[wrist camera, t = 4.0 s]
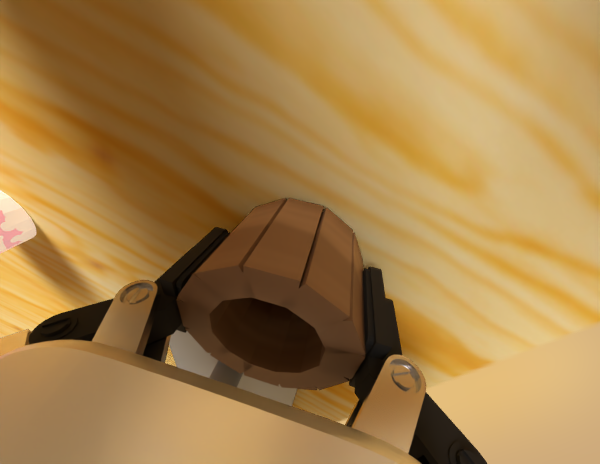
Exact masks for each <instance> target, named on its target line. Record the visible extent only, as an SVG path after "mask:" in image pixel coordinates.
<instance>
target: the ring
mask: <svg viewBox="0 0 600 464" xmlns="http://www.w3.org/2000/svg"><path fill="white" fill-rule="evenodd" d="M322 211H323V206H321V205H317V204H313V203H308V202H304V201H300V200H296V199H291V198H289V199H288V200H286V198H284V199H281V200H277V201H274V202H270V203H267V204H264V205H260V206H257V207H255V209H253V210H252V211H251V212H250V213H249V214H248V215H247V216H246V217H245V218H244V220H243V221H242V222H241V223H240V224H239V225H238V226H237V227H236V228H235V229H234V230H233V231H232V232H231V234H230V235H229V236H228V237H227V238H226V239H225V240H224V241H223V242H222V243H221V244H220V245H219V246H218V248H217V249H216V250H215V251H214V252H213V253H212V254H211V255H210V256H209V257H208V258H207V259H206V260H205V262H204V263H203V264H202V265H201V266H200V267H199V268H198V269H197V270H196V271H195V272H194V273H193V274H192V276H191V277H190V279H189V280H188V282H187V283H186V284H185V286H184V287H183V289H182V290H181V292H180V293H179V294H178V296H177V299H176V301H177V304H178V308H179V312H180V315H181V319H182V323H183V326H184V327H186V328H185V329H186V330H187V332H188V333H189V334H190V335H191V336H192V337H193V338H194V339H195V340H196V341H197V342H198V344H199V345H200V346H201V347H202V348H203V349H204V350H205V351H206V352H207V353H211V354H210V355H211V356H212V357H214V358H215V359H217V360H219V361H220V362H222V363H224V364H225V365H227V366H229V367H230V368H232V369H234V370H235V371H237V372H238V373H240V374H241V373H243V372H244V375H245V376H248V377H251V378H254V379H257V380H260V381H263V382H266V383H269V384H272V385H275V386H279V384H280V386H281V387H282V388H296V389H309V390H317V388H318V389H319V390H321V389H324V388H327V387H331V386H334V385H337V384H341V383H344V382H347V381H349V379H352V378H353V376H354V374H355V373H356V371H357V370H358V368H359V366H360V365H361V363H362V362H363V360H364V358H365V354H366V352H365V330H364V297H363V259H362V256H361V253H360V249H359V246H358V243H357V240H356V236H355V233H353V230H352V229H351V228H350V227H349V226H347V225H346V224H345V223H344V222H343V221H342V220H341V219H339V218H338V217H337V216H336V215H335V214H334V213H332V212H331V211H330V210H329V209H328V208H326V209H325V210H324V211H323V212H322Z"/></svg>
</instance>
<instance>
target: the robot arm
mask: <svg viewBox="0 0 600 464" xmlns="http://www.w3.org/2000/svg"><path fill="white" fill-rule="evenodd" d="M229 235H230V233H228V231H227V230H226V229H222V228H218V227H215V228H214V229H213V230H212V231H211V232H210V233H209V234H208V235H206V236H205V237H204V238H203V239H202V240H201V241H200V242H199V243H198V244H197V245H196V246H194V247H193V248H192V249H190V250H189V251H188V252H187V253H186V254H185V255H184V256H183V257H182V258H180V259H179V260H178V261H177V262H176V263H175V264H174V265H173V266H172V267H171V268H169V269H168V270H167V271H166V272H165V273H164V274H163V275H162V276H161V277H160V278H159V279H157V280H156V281H155V282H153V281H149V280H140V281H135V282H133V283H130V284H128V285H126V286H124V287H123V288H122V289H121V290H119V292H118V293H117V294H116V296H115V298H114V299H111V300H107V301H103V302H100V303H96V304H93V305H89V306H85V307H82V308H78V309H75V310H71V311H67V312H64V313H61V314H58V315H55V316H53V317H51V318H49V319H47V320H45V321H44V322H42V323H41V324H39V325H38V326H37V327H36V328H35V329H34V330H33V331H30V330H29V329H26V330H23V331H20V332H17V333H14V334H11V335H8V336H5V337H2V338H0V464H487V462H486V461H485V459H484V458H483V457H482V456H481V454H480V453H479V452H478V450H477V449H476V448H475V447H474V446H473V445H472V444H471V443H470V442H469V440H468V439H467V438H466V437H465V436H464V435H463V434H462V432H461V431H460V430H459V429H458V428H457V427H456V426H455V424H453V422H452V421H451V420H450V419H449V418H448V417H447V416H446V414H445V413H444V412H443V411H442V410H441V409H440V408H439V407H438V405H437V404H436V403H435V402H434V401H433V400H432V399H431V397H430V396H429V395H428V394H427V393H426V382H425V378H424V376H423V374H422V372H421V370H420V369H419V368H418V367H417V365H416V364H415V363H413V362H412V361H411V360H410V359H408V358H406V357H405V356H402V351H401V345H400V339H399V334H398V328H397V322H396V316H395V311H394V305H393V301H392V300H390V299H386V298H385V292H384V285H383V278H382V271H381V269H377V268H373V267H369V268H368V269H366V268H364V270H363V297H364V330H365V352H366V354H365V358H364V360H363V362H362V363H361V365H360V366H359V368H358V370H357V371H356V373H355V374H354V376H353V378H352V379H349V386H352V387H355V394H356V395H357V397H358V400H357V402H356V404H355V406H354V408H353V410H352V412H351V414H350V416H349V418H348V420H347V422H346V424H345V425H343V424H340V423H338V422H335V421H332V420H329V419H327V418H324V417H321V416H318V415H315V414H312V413H309V412H307V411H304V410H301V409H298V408H295V407H292V406H289V405H286V404H283V403H281V402H278V401H275V400H272V399H269V398H266V397H263V396H260V395H257V394H254V393H252V392H249V391H246V390H243V389H240V388H237V387H234V386H231V385H228V384H225V383H222V382H219V381H216V380H213V379H210V378H208V377H205V376H202V375H199V374H196V373H193V372H190V371H187V370H184V369H181V368H178V367H175V366H172V365H169V364H166V363H165V360H166V355H167V351H168V347H169V342H170V338H171V335H172V334H174V332H175V331H176V330H178V331H181V332H184V333H186V331H187V330H186V329H185V328H186V327H184V326H183V323H182V319H181V315H180V312H179V308H178V304H177V301H176V299H177V296H178V294H179V293H180V292H181V290H182V289H183V287H184V286H185V284H186V283H187V282H188V280H189V279H190V277H191V276H192V274H193V273H194V272H195V271H196V270H197V269H198V268H199V267H200V266H201V265H202V264H203V263H204V262H205V260H206V259H207V258H208V257H209V256H210V255H211V254H212V253H213V252H214V251H215V250H216V249H217V248H218V246H219V245H220V244H221V243H222V242H223V241H224V240H225V239H226V238H227V237H228V236H229Z"/></svg>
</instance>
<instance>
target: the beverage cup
mask: <svg viewBox="0 0 600 464" xmlns="http://www.w3.org/2000/svg"><path fill="white" fill-rule="evenodd" d="M35 235H36V227H35V225H34V223H33V221H32V219H31V218H30V216H29V215H28V214H27V213H26V211H25V210H24V209H23V208H22V207H21V206H20V205H19V204H18V203H17V202H16V201H14V200H13V199H12V198H11V197H10V196H8V195H7V194H5V193H4V192H2V191H1V190H0V253H2V252H4V251H6V250H8V249H11V248H13V247H15V246H17V245H19V244H21V243H23V242H25V241H27V240H29V239H31V238H33V237H34V236H35Z"/></svg>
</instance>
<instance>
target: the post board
mask: <svg viewBox="0 0 600 464" xmlns="http://www.w3.org/2000/svg"><path fill="white" fill-rule="evenodd" d="M169 346H170V348H171V351H172V354H173V357H174V360H175V363H176V366H177V367H178V368H181V369H184V370H187V371H190V372H193V373H196V374H199V375H202V376H205V377H208V378H210V379H213V380H216V381H219V382H222V383H225V384H228V385H231V386H234V387H237V388H240V389H243V390H246V391H249V392H252V393H254V394H257V395H260V396H263V397H266V398H269V399H272V400H275V401H278V402H281V403H283V404H286V405H289V406H292V404H293V401H294V398H295V395H296V392H297V389H296V388H282V387H281V386H280V384H279V386H275V385H272V384H269V383H266V382H263V381H260V380H257V379H254V378H251V377H248V376H245V375H244V372H243V373H241V374H240V373H238V372H237V371H235V370H234V369H232V368H230V367H229V366H227V365H225V364H224V363H222V362H220V361H219V360H217V359H215V358H214V357H212V356H211V355H210V354H211V353H207V352H206V351H205V350H204V349H203V348H202V347H201V346H200V345H199V344H198V342H197V341H196V340H195V339H194V338H193V337H192V336H191V335H190V334H189V333H188V332H187V331H186V333H184V332H181V331H178V330H176V331H175V332H174V334H172V335H171V338H170V342H169Z"/></svg>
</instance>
